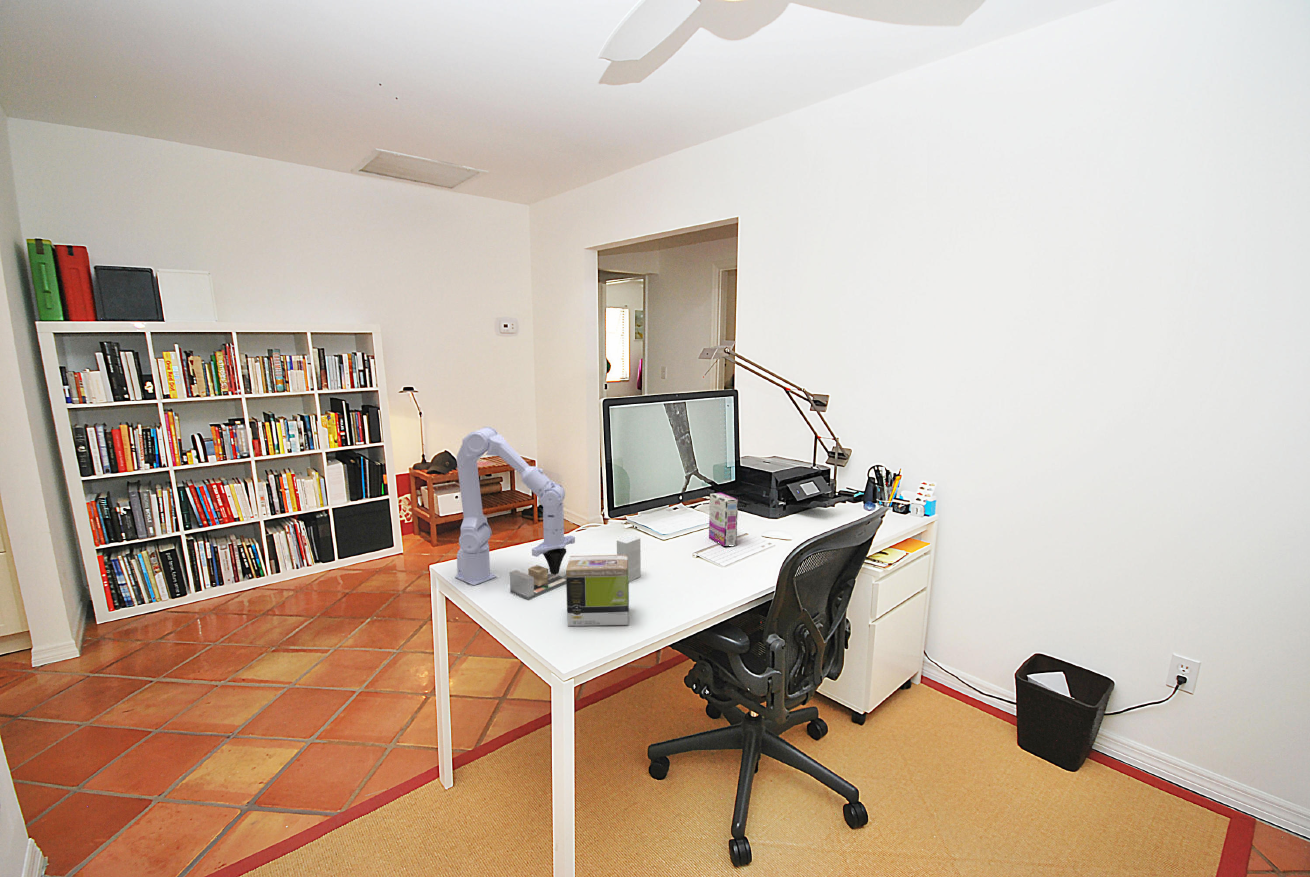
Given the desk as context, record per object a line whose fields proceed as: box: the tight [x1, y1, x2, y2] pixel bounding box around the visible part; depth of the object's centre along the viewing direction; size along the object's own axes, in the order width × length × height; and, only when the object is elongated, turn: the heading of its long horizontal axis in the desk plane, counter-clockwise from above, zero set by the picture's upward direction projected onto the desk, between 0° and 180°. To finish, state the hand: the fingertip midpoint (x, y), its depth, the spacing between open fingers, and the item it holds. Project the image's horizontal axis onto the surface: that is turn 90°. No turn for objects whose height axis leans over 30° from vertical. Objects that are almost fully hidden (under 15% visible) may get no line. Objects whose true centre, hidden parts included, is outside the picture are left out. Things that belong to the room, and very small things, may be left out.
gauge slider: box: [527, 564, 549, 588], centre depth 158 cm, size 4×6×4 cm, turn 52°
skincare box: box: [616, 534, 642, 582], centre depth 165 cm, size 6×4×12 cm
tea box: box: [565, 554, 630, 627], centre depth 141 cm, size 15×10×15 cm
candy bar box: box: [708, 492, 739, 547], centre depth 196 cm, size 11×5×16 cm, turn 25°
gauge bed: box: [509, 569, 566, 601], centre depth 159 cm, size 15×8×6 cm, turn 142°
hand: (554, 573), depth 163 cm, fingers closed
